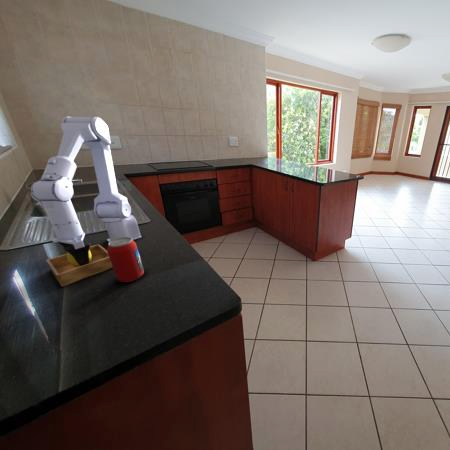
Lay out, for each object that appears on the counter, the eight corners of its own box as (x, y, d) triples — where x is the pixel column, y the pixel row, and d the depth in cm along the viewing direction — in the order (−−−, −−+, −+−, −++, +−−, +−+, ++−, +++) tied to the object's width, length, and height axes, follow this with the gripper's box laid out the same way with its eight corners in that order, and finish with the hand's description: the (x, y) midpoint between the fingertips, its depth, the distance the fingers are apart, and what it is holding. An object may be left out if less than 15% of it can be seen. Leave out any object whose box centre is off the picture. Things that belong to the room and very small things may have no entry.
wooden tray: (102, 253, 83) (98, 243, 82) (116, 266, 76) (113, 255, 74) (50, 270, 73) (45, 259, 72) (61, 286, 66) (56, 275, 65)
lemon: (82, 273, 72) (72, 250, 68) (67, 271, 73) (57, 248, 69) (99, 263, 77) (91, 241, 73) (85, 261, 78) (77, 240, 74)
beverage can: (150, 273, 73) (140, 238, 68) (129, 286, 67) (116, 248, 62) (133, 268, 75) (123, 234, 70) (112, 281, 69) (98, 244, 64)
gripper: (40, 219, 69) (58, 259, 75) (52, 232, 61) (71, 276, 67) (71, 213, 75) (86, 250, 80) (86, 224, 67) (101, 265, 72)
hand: (81, 261), depth 74 cm, fingers closed on lemon, 5 cm apart
